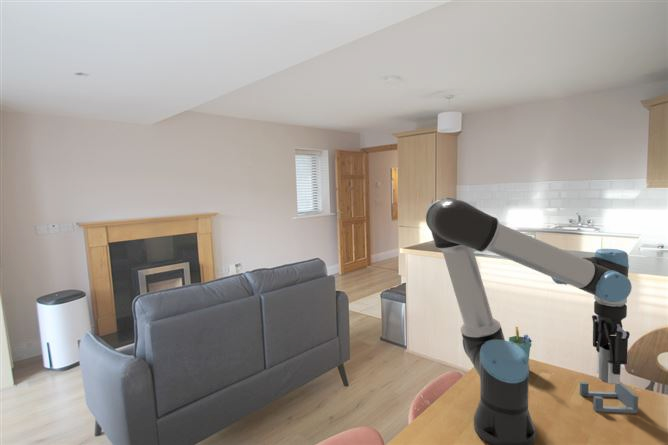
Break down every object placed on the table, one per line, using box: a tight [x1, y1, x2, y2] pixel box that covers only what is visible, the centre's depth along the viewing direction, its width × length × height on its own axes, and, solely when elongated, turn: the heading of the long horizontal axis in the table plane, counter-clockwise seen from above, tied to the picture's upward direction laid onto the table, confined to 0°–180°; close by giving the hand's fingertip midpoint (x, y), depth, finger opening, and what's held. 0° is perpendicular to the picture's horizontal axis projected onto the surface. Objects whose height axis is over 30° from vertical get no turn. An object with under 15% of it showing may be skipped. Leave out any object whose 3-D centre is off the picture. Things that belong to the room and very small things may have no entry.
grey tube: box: [598, 344, 611, 384], centre depth 105 cm, size 4×4×10 cm
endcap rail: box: [579, 381, 639, 414], centre depth 106 cm, size 11×8×5 cm
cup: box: [508, 326, 533, 363], centre depth 126 cm, size 14×8×15 cm, turn 176°
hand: (608, 377), depth 105 cm, fingers closed on grey tube, 4 cm apart
